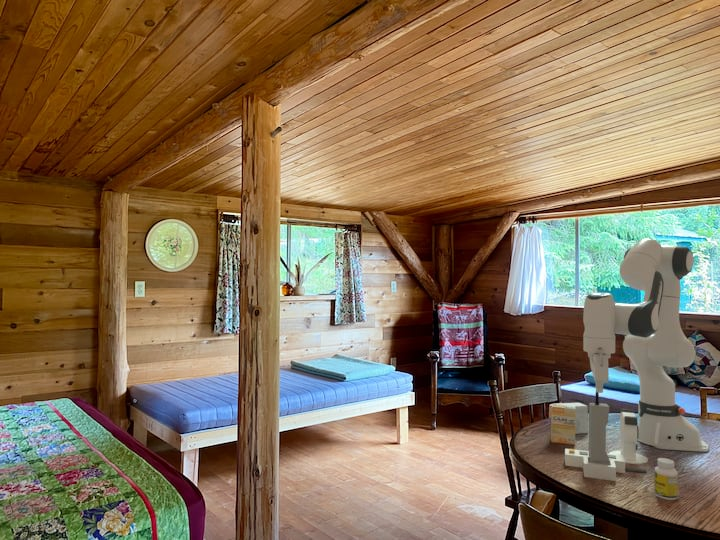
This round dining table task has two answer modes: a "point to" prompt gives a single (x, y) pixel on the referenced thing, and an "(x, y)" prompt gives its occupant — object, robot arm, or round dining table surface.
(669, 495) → the supplement bottle
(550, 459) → the round dining table surface
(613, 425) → the round dining table surface
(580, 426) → the skincare box
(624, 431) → the white holder
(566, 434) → the supplement box
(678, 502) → the round dining table surface
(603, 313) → the robot arm
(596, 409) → the vintage mobile phone
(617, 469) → the charging dock
